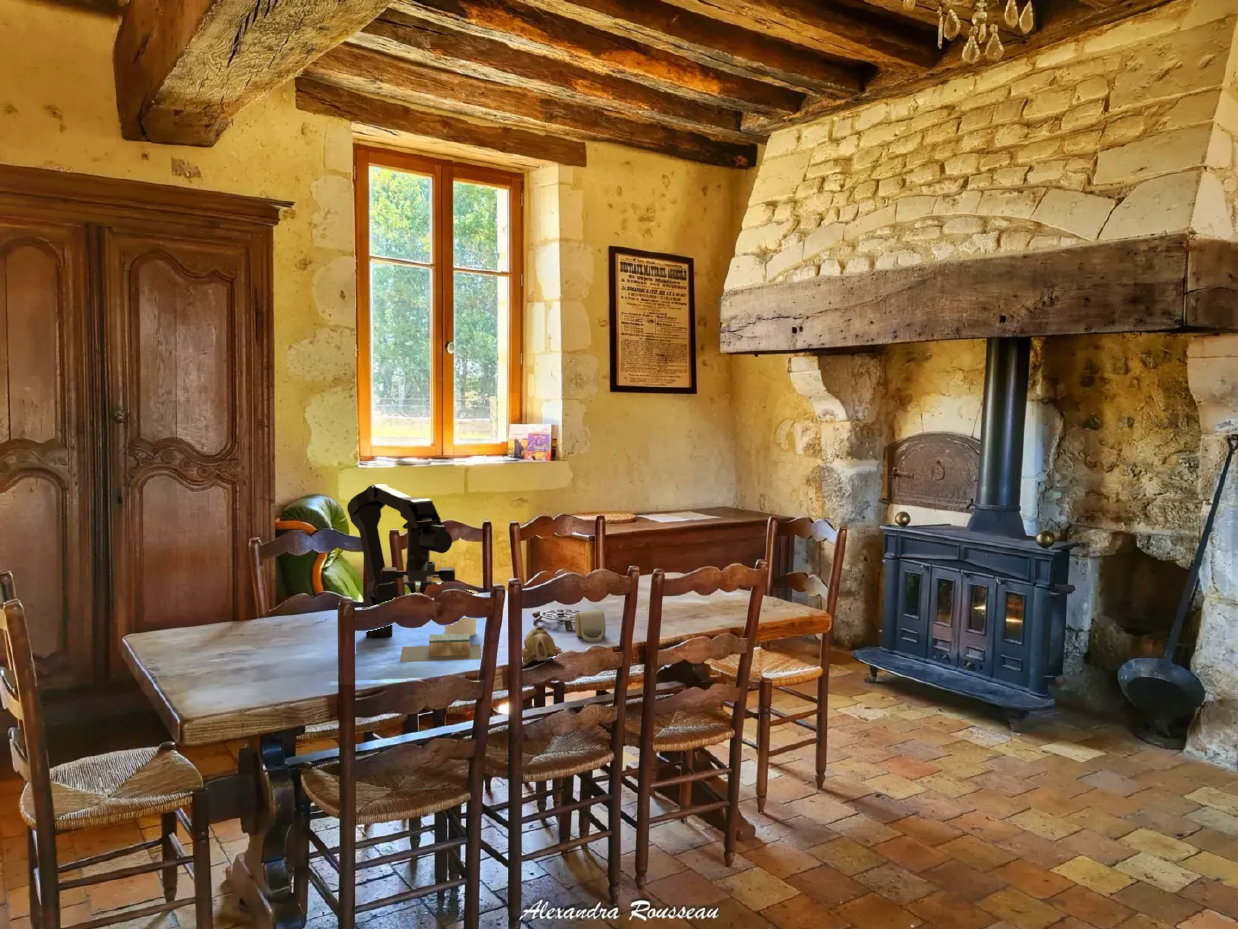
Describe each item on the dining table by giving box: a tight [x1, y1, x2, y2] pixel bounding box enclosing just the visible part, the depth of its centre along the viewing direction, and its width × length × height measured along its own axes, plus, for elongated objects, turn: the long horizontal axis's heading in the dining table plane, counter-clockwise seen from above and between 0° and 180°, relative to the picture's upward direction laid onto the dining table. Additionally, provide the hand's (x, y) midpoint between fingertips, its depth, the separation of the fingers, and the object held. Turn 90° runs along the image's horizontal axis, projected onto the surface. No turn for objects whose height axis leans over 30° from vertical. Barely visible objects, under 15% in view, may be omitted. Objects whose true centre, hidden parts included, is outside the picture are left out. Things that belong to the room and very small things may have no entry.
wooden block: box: [428, 633, 471, 656], centre depth 229 cm, size 4×6×10 cm
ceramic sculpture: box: [521, 624, 564, 664], centre depth 226 cm, size 11×9×15 cm
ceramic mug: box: [574, 609, 607, 643], centre depth 248 cm, size 10×8×7 cm
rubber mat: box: [399, 643, 482, 663], centre depth 229 cm, size 20×14×1 cm
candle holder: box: [443, 589, 479, 637], centre depth 248 cm, size 10×10×12 cm
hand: (417, 607), depth 231 cm, fingers closed
